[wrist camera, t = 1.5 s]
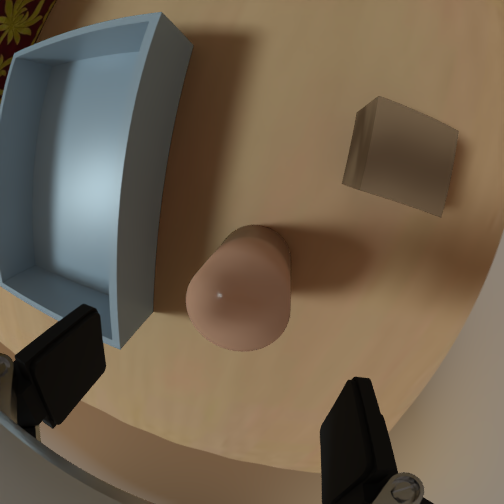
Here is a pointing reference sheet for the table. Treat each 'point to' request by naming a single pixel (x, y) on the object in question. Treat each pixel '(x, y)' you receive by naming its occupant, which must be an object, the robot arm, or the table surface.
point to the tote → (89, 167)
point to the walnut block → (401, 155)
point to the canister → (243, 290)
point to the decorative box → (19, 29)
